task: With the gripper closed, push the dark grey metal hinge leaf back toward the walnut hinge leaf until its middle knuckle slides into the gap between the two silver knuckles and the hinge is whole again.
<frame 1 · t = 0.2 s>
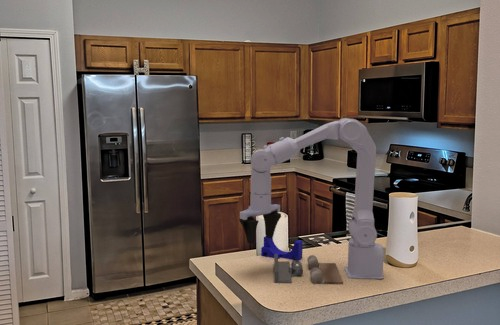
hand: (260, 240, 135), 9 cm above the worktop, tool pointing down, fingers open, 7 cm apart
fixed leaf: (314, 274, 135), on the worktop
blue u-shaped bracket: (281, 258, 149), on the worktop
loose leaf: (288, 267, 135), point 2 cm above the worktop, slide at 5.0 cm
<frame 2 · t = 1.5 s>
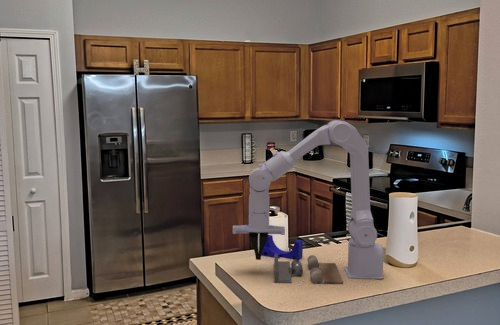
hand: (258, 258, 135), 4 cm above the worktop, tool pointing down, fingers closed
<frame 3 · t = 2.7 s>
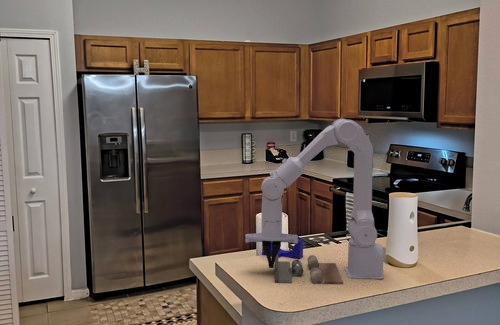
hand: (271, 267, 135), 2 cm above the worktop, tool pointing down, fingers closed
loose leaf: (288, 267, 135), point 2 cm above the worktop, slide at 4.9 cm, touching gripper
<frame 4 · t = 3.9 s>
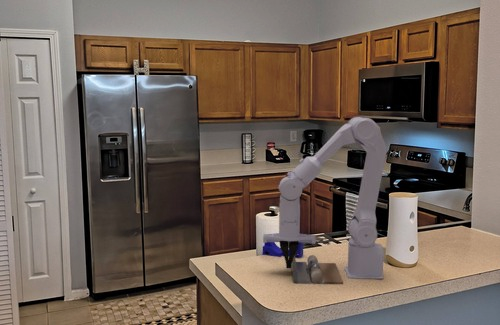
hand: (288, 267, 135), 2 cm above the worktop, tool pointing down, fingers closed
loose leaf: (306, 268, 134), point 2 cm above the worktop, slide at 0.0 cm, touching gripper
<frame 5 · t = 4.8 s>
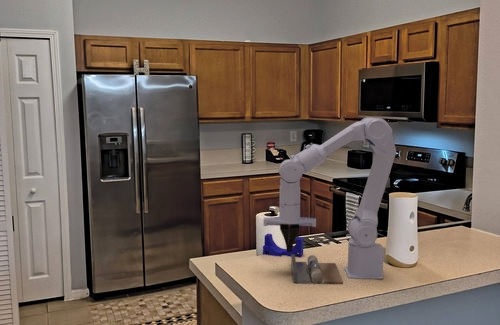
hand: (289, 250, 134), 7 cm above the worktop, tool pointing down, fingers closed
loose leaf: (306, 268, 134), point 2 cm above the worktop, slide at 0.0 cm
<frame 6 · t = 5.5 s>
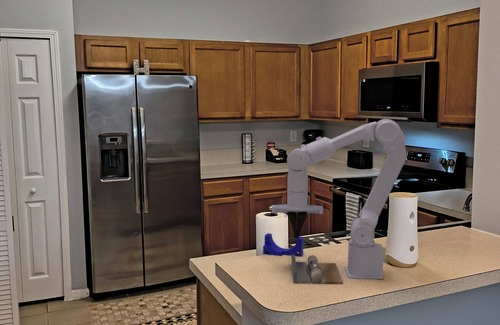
hand: (296, 237, 138), 9 cm above the worktop, tool pointing down, fingers closed
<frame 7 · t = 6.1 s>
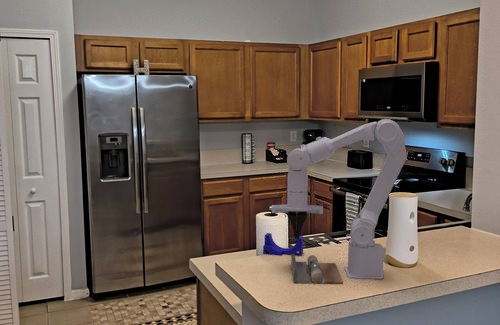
hand: (296, 237, 138), 9 cm above the worktop, tool pointing down, fingers closed
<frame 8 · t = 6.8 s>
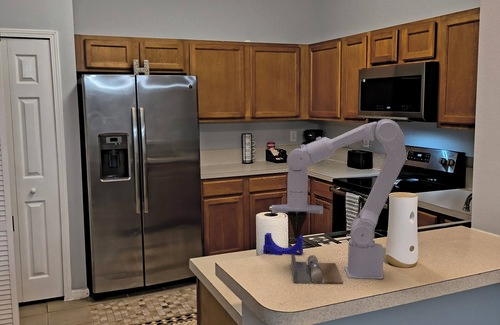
hand: (296, 237, 138), 9 cm above the worktop, tool pointing down, fingers closed
at the end: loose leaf slide at 0.0 cm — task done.
